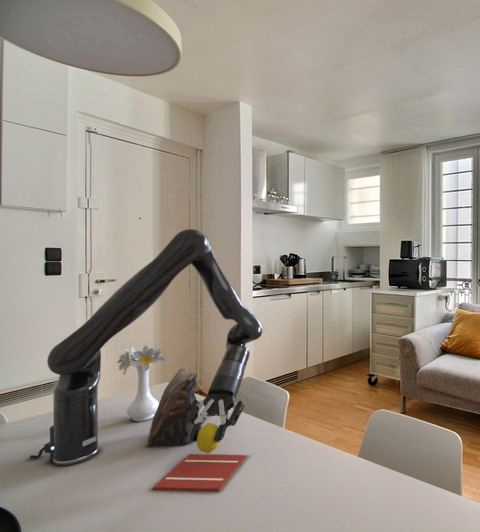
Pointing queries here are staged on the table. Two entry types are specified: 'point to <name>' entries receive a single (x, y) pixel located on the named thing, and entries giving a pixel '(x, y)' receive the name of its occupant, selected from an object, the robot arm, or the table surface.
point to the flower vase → (141, 381)
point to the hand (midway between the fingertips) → (205, 440)
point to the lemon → (207, 438)
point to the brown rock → (174, 412)
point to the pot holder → (201, 472)
